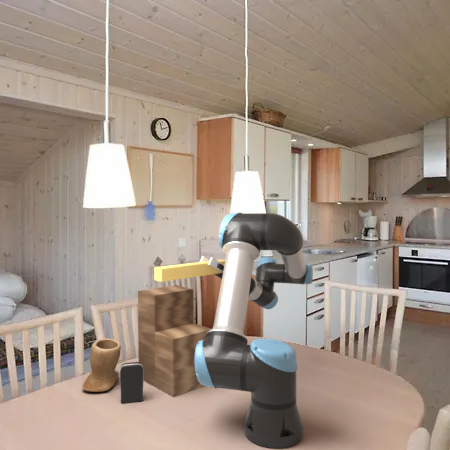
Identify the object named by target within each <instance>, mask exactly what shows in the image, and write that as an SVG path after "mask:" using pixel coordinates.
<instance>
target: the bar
mask: <svg viewBox="0 0 450 450" xmlns="http://www.w3.org/2000/svg"><path fill="white" fill-rule="evenodd" d="M216 260H217V261H219V262H220V263H222V264H223V265H225V260H226V259H216ZM208 263H209V261H204V262H200V261H198V262H190V263H189V262H188V263H181V264H172V265H164V266H155V267H153V268H154V270H153V271H154V272H153V273H154V274H153V275H154V278H153V279H154V281H157V282H160V283H161V282H162V283H163V282H170V281H178V280H183V279H190V278H197V277H204V276H210V275H214V274H218V273H221V272H219V271H218V270H216V269H214V268H213V267H211V266H210V265H208ZM222 273H223V271H222Z"/></svg>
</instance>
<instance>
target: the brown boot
mask: <svg viewBox="0 0 450 450" xmlns="http://www.w3.org/2000/svg"><path fill="white" fill-rule="evenodd" d="M121 349H122V345H121V344H120V342H119V341H117V340H115V339H112V338H107V337H106V338H100V339H97V340H95V341H94V342H93V343H92V345H91V348H90V354H89V362H90V363H89V364H90V367H91V372H90V373H89V375H87V377H86V379H85V380H84V381H83V384H82V385H81V386H82V387H81V388H82V389H83V391H86V392H93V393H96V392H97V393H98V392H100V393H101V392H106V391H109V390H111V389H112V387H113V386H114V384H115V383H116V381H117V379H118V377H119V376H120V372H118V371H117V370H116V367H117V365H118V362H119V360H120V357H121Z"/></svg>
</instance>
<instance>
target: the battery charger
mask: <svg viewBox="0 0 450 450" xmlns="http://www.w3.org/2000/svg"><path fill="white" fill-rule="evenodd" d="M144 382H145V381H144V374H143V366H142V364H141V363H140V362H139V361H132V362H124V363H122V364H121V365H120V369H119V390H120V403H121V404H127V403H129V404H130V403H137V402H142V401H144Z"/></svg>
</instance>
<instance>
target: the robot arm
mask: <svg viewBox="0 0 450 450" xmlns="http://www.w3.org/2000/svg"><path fill="white" fill-rule="evenodd" d="M218 244H219V247H220V248H221V249H222V253H223V254H224V255H225V259H224V260H225V265H223V264H222V263H220V262H219V261H217V260H218V259H216V258H214V257H210V258H209V259H208V258H207V257H206V256H203V255H202V256H201V258H200V260H199V262H204V261H209V263H208V265H210V266H211V267H213V268H214V269H216V270H218V271H219V272H221V273H218V274H213V275H214V276H216V277H218V278H219V279H220V280H221V283H220V288H219V294H218V299H217V304H216V310H215V315H214V320H213V324H212V325H213V326H212V328H210V329H211V330H209V331H208V332H207V333H206V338H205V341H204V340H202V341H199V342H198V343H197V345H196V349H195V372H196V376H197V379H198V381H199V383H200V384H201V385H203V386H202V387H209V388H213V389H216V390H217V389H225V390H233V391H240V392H248V393H251V395H250V398H251V399H250V404H249V408H248V411H247V414H246V416H245V420H244V425H243V426H244V429H243V431H244V436H245V437H246V438H247V439H248V440H249V441H250V442H252V443H254V444H256V445H258V446H261V447H265V448H270V449H271V448H272V449H282V448H283V449H284V448H288V447H292V446H295V445H296V444H298V443H300V442H301V441H302V439H303V438H304V424H303V421H302V417H301V414H300V412H299V408H298V406H297V371H298V364H297V354H296V351H295V349H294V348H293V347H292V346H291V345H290V344H288V343H286V342H284V341H281V340H278V339H272V338H256V339H254V340H252V342H251V344H248V342H249V341H248V337H247V336H246V335H245V334H244V330H245V324H246V319H247V318H246V317H247V311H248V302H249V301H250V302H253V303H254V304H256V305H258V307H261V308H263V309H265V310H271V309H273V308H275V307H276V306H277V304H278V302H279V297H278V295H277V292H275V290H274V289H275V284H276V283H277V284H294V285H311V284H312V283H313V280H314V277H313V276H314V270H313V269H314V268H313V265H311V264H306V261H305V256H304V253H303V251H304V250H303V245H304V238H303V234H302V231H301V230H300V229H299V227H298V226H297V225H296V224H295V223H294V222H293V221H291V220H290V219H289V218H287V217H286V216H283V215H281V214H278V213H275V212H274V213H273V212H270V213H268V212H266V213H264V212H263V213H257V212H256V213H253V212H252V213H242V212H235V213H234V212H233V213H229V214H227V215H225V216H224V217H223V219H222V220H221V223H220V226H219V229H218ZM261 251H275V252H277V253H279V254H280V256H281V259H282V262H283V263H277V260H276V259H275V258H273V257H269V256H263V257H261V258H259V257H260V253H261ZM258 258H259V259H258ZM257 259H258V260H257ZM256 260H257V263H256V264H257V265H256V268H255V269H256V270H255V278H254V277H252V274H253V267H254V261H256ZM222 271H223V273H222Z"/></svg>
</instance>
